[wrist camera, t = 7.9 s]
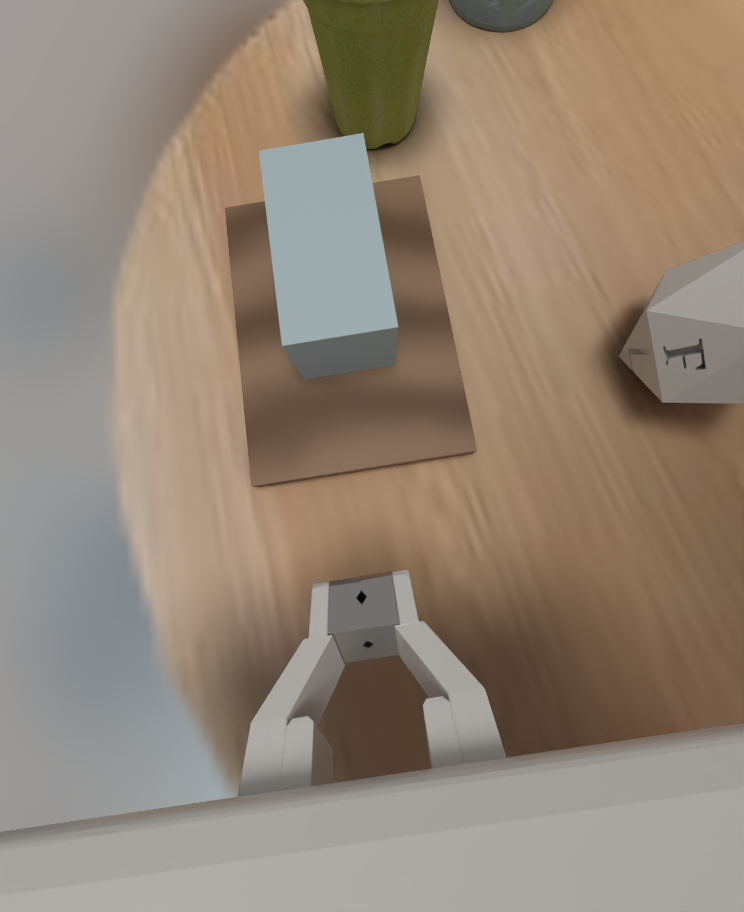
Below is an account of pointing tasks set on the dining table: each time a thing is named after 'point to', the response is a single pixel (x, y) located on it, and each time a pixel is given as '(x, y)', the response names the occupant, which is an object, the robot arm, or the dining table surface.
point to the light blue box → (328, 257)
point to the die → (694, 332)
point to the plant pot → (373, 62)
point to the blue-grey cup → (500, 13)
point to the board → (355, 393)
